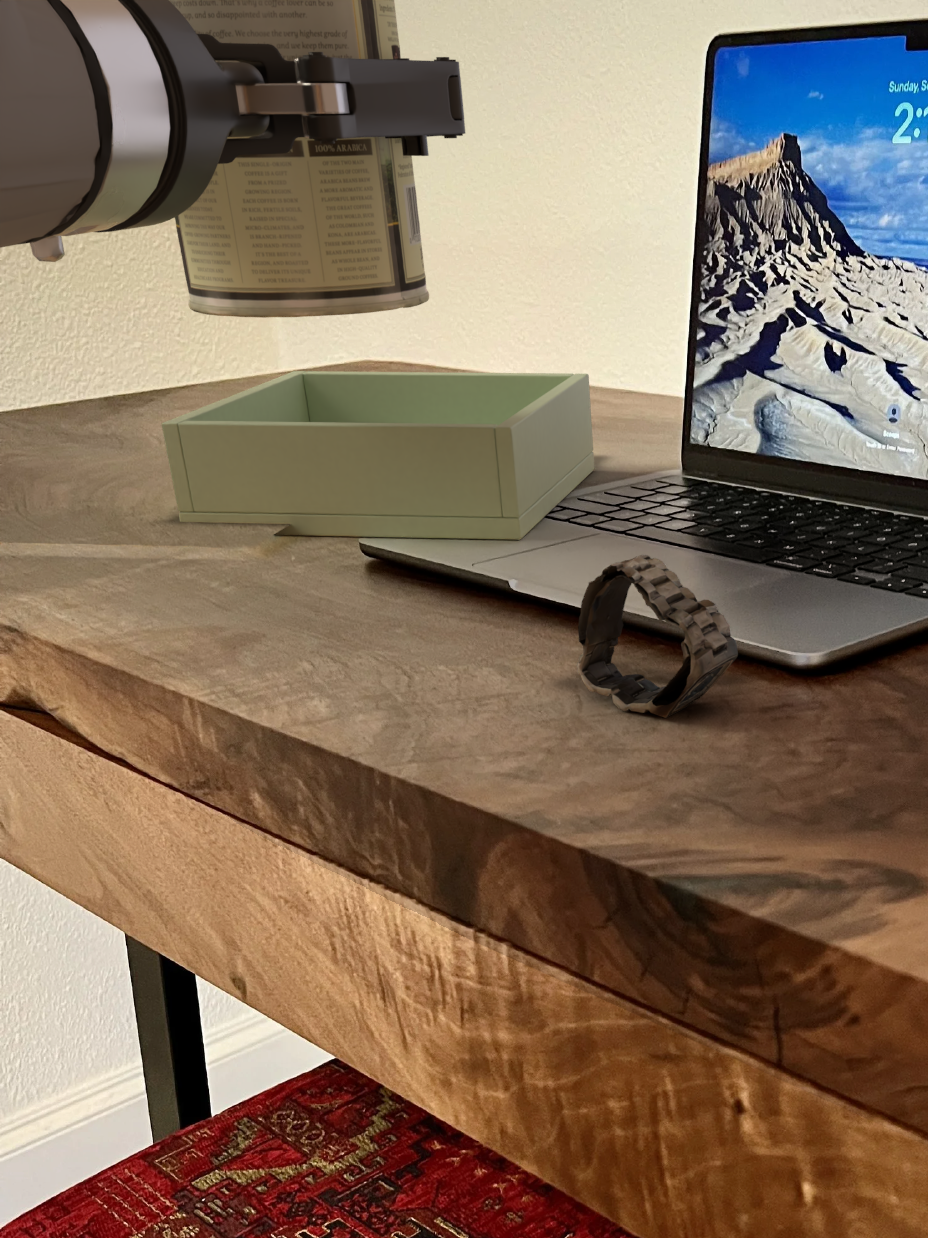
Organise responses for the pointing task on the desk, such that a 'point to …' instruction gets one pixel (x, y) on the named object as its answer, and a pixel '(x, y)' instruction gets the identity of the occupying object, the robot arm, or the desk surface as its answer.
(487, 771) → the desk surface
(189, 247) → the coffee can
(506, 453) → the drawer tray
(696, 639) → the wristwatch
